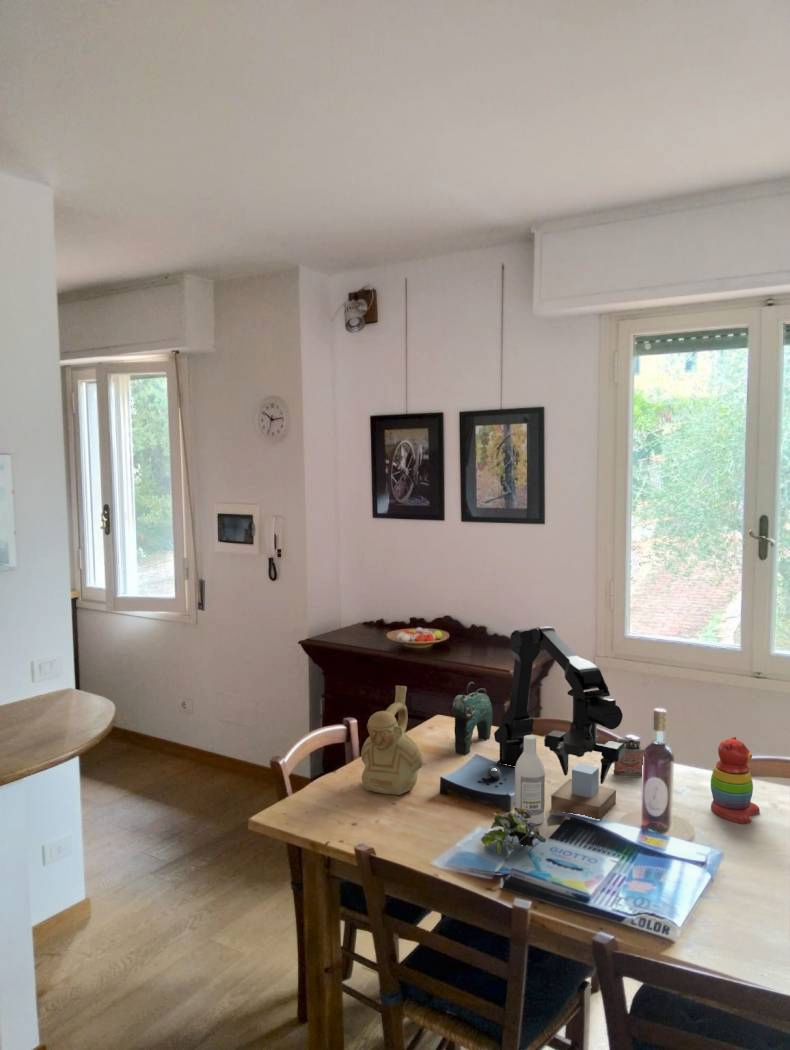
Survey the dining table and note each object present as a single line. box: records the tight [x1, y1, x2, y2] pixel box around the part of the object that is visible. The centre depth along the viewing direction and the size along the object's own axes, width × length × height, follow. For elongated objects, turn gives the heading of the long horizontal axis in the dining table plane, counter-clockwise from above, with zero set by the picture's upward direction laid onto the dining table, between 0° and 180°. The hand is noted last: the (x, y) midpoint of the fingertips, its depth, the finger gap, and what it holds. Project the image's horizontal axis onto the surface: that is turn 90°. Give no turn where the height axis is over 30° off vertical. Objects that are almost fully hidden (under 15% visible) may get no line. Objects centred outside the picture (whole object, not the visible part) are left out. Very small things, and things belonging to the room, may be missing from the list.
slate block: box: [571, 763, 600, 798], centre depth 190 cm, size 5×5×6 cm
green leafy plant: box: [480, 807, 547, 858], centre depth 167 cm, size 11×11×12 cm
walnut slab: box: [550, 778, 617, 820], centre depth 190 cm, size 12×12×4 cm
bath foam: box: [514, 734, 546, 826], centre depth 183 cm, size 7×7×20 cm
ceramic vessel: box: [360, 685, 424, 796], centre depth 202 cm, size 17×20×25 cm
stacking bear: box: [710, 736, 761, 825], centre depth 186 cm, size 11×10×18 cm
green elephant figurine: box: [451, 681, 493, 756], centre depth 232 cm, size 20×6×20 cm, turn 147°
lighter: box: [613, 737, 646, 778], centre depth 210 cm, size 8×3×10 cm, turn 84°
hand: (583, 779), depth 190 cm, fingers open, 9 cm apart
